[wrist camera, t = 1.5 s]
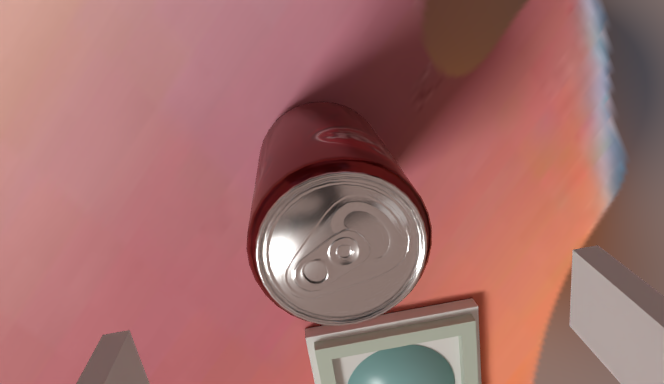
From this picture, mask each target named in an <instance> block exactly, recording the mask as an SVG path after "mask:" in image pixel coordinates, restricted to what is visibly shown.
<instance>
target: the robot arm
mask: <svg viewBox="0 0 664 384" xmlns="http://www.w3.org/2000/svg"><path fill="white" fill-rule="evenodd" d="M570 327H571V328H572V329H573V330H574V331H575V333H576V334H577V335H578V336H579V337H580V338H581V339H582V340H583V342H584V343H585V344H586V345H587V346H588V347H589V348H590V349H591V351H593V353H594V354H595V355H596V356H597V357H598V358H599V360H600V361H601V362H602V363H603V364H604V365H605V366H606V368H607V369H608V370H609V371H610V372H611V373H612V374H613V375H614V377H615V378H616V379H617V380H618V381H619V382H620V383H621V384H664V296H663V295H661V294H660V293H659V292H658V291H656V290H655V289H654V288H652V287H651V286H650V285H649V284H647V283H646V282H645V281H643V280H642V279H641V278H640V277H638V276H637V275H636V274H634V273H633V272H632V271H630V270H629V269H628V268H627V267H625V266H624V265H623V264H621V263H620V262H619V261H617V260H616V259H615V258H614V257H612V256H611V255H610V254H608V253H607V252H606V251H604V250H603V249H602V248H601V247H599V246H598V245H597V246H591V247H586V248H580V249H575V250H573V256H572V282H571V305H570ZM76 384H149V381H148V378H147V376H146V373H145V370H144V368H143V365H142V362H141V360H140V357H139V354H138V352H137V349H136V346H135V344H134V341H133V338H132V336H131V333H130V330H128V331H122V332H117V333H111V334H106V335H103V336H102V337H101V339H100V341H99V343H98V345H97V347H96V348H95V350H94V352H93V354H92V356H91V358H90V359H89V361H88V363H87V365H86V367H85V369H84V371H83V372H82V374H81V376H80V378H79V380H78V382H77V383H76Z"/></svg>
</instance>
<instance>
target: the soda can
mask: <svg viewBox="0 0 664 384" xmlns="http://www.w3.org/2000/svg"><path fill="white" fill-rule="evenodd" d="M431 245H432V227H431V223H430V218H429V214H428V211H427V209H426V207H425V204H424V202H423V200H422V198H421V196H420V195H419V194H418V192H417V191H416V189H415V188H414V186H413V185H412V184H411V182H410V181H409V179H408V178H407V177H406V175H405V174H404V172H403V171H402V169H401V168H400V167H399V165H398V164H397V162H396V161H395V160H394V158H393V157H392V155H391V154H390V152H389V151H388V150H387V148H386V147H385V145H384V144H383V143H382V141H381V140H380V138H379V137H378V135H377V134H376V133H375V131H374V130H373V128H372V127H371V126H370V125H369V123H368V122H367V121H366V120H365V119H364V118H363V117H362V116H361V115H359V114H358V113H357V112H355V111H353V110H352V109H350V108H348V107H346V106H343V105H339V104H336V103H330V102H313V103H307V104H304V105H300V106H297V107H295V108H294V109H292V110H290V111H288V112H286V113H285V114H284V115H283V116H281V117H280V118H279V119H278V120H277V121H276V122H275V123H274V124H273V125H272V127H271V128H270V129H269V131H268V133H267V134H266V136H265V138H264V140H263V144H262V147H261V151H260V156H259V162H258V169H257V175H256V182H255V188H254V194H253V201H252V207H251V214H250V220H249V227H248V235H247V254H248V260H249V265H250V268H251V270H252V273H253V275H254V278H255V280H256V282H257V283H258V285H259V286H260V287H261V289H262V290H263V292H264V293H265V295H266V296H267V297H268V298H269V299H270V300H271V301H273V302H274V303H275V304H276V305H277V306H278V307H279V308H281V309H283V310H284V311H286V312H287V313H289V314H290V315H292V316H295V317H297V318H300V319H302V320H305V321H308V322H313V323H318V324H322V325H338V326H341V325H349V324H356V323H360V322H363V321H367V320H370V319H373V318H375V317H377V316H379V315H381V314H383V313H385V312H387V311H388V310H390V309H391V308H392V307H394V306H395V305H397V304H398V303H399V302H401V301H402V300H403V299H404V298H405V297H406V296H407V295H408V294H409V293H410V292H411V291H412V290H413V288H414V287H415V285H416V284H417V282H418V281H419V279H420V278H421V276H422V274H423V272H424V270H425V267H426V265H427V263H428V259H429V254H430V249H431Z"/></svg>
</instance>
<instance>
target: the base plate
mask: <svg viewBox="0 0 664 384" xmlns="http://www.w3.org/2000/svg"><path fill="white" fill-rule="evenodd" d="M305 338H306V343H307V348H308V353H309V357H310V362H311V367H312V372H313V377H314V381H315V384H481V362H480V338H479V315H478V305H477V304H476V302H475V301H474V299H473V298H471V299H465V300H460V301H454V302H449V303H443V304H438V305H432V306H427V307H421V308H416V309H410V310H405V311H399V312H394V313H389V314H383V315H379V316H377V317H375V318H373V319H370V320H367V321H363V322H360V323H356V324H349V325H341V326H338V325H323V326H317V327H312V328H306V329H305Z"/></svg>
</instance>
